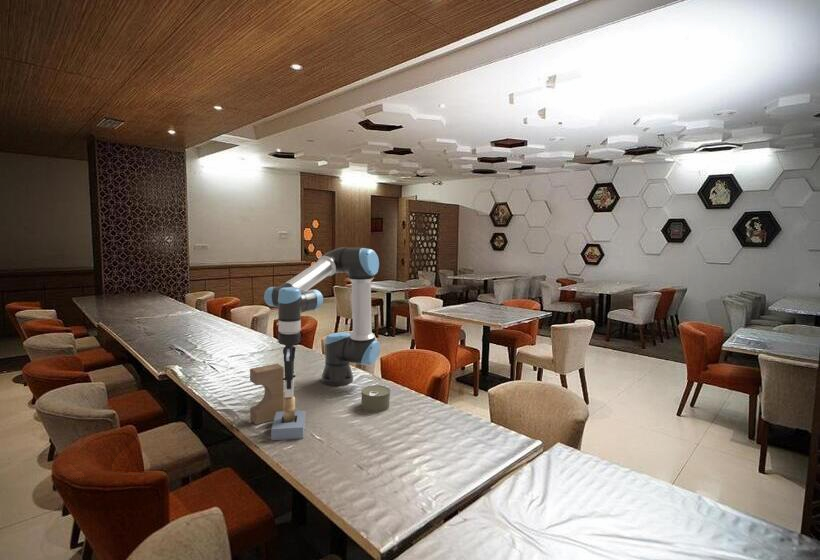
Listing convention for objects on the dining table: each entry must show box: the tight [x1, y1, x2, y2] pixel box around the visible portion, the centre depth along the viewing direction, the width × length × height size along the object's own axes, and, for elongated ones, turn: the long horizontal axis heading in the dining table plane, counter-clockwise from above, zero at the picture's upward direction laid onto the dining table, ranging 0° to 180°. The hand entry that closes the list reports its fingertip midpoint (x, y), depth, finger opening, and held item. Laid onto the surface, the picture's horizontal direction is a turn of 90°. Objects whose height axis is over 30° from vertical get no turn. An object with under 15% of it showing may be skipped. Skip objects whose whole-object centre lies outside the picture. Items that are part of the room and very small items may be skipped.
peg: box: [283, 395, 296, 423], centre depth 148 cm, size 4×4×12 cm
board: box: [270, 409, 306, 441], centre depth 148 cm, size 10×14×4 cm
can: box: [360, 385, 391, 413], centre depth 171 cm, size 12×12×7 cm
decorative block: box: [249, 363, 285, 425], centre depth 156 cm, size 11×6×20 cm, turn 130°
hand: (289, 396), depth 147 cm, fingers closed
